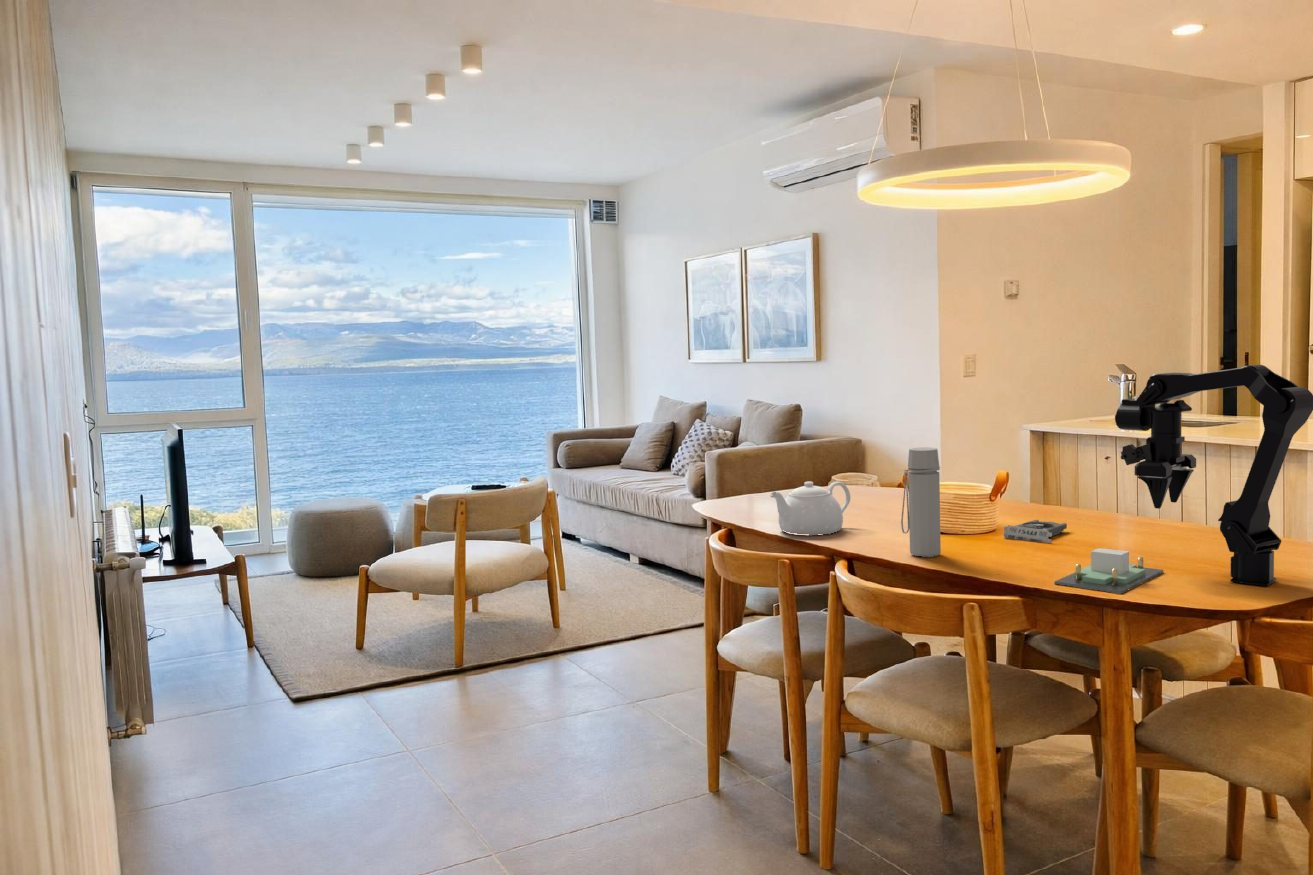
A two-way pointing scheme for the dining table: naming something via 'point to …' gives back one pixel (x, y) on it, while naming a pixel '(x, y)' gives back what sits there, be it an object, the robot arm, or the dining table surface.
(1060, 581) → the plate
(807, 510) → the teapot
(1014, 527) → the graphics card
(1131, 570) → the board
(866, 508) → the dining table surface
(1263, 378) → the robot arm
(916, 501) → the water bottle
